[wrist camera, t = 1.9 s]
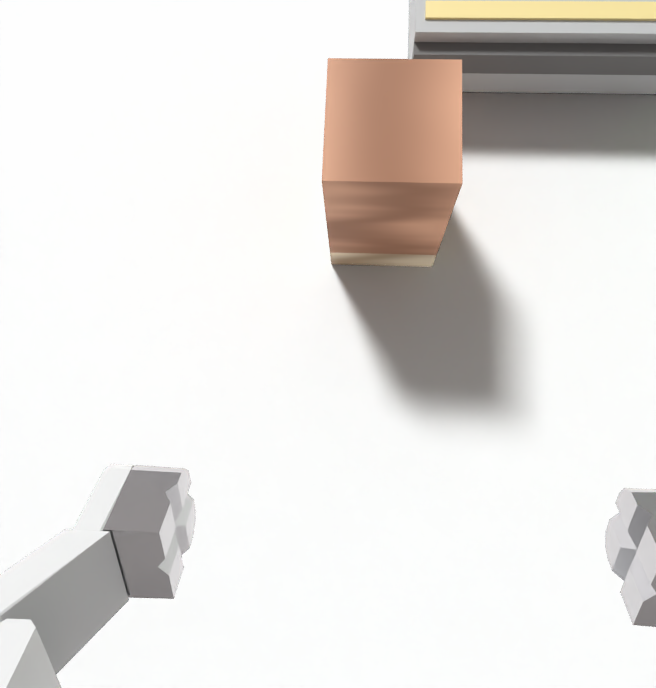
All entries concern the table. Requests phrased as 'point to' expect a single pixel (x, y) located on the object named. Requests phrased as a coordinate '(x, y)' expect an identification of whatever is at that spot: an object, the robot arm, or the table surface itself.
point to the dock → (540, 44)
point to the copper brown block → (391, 158)
